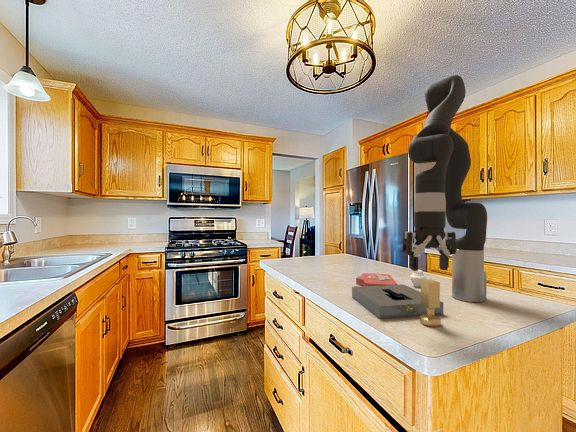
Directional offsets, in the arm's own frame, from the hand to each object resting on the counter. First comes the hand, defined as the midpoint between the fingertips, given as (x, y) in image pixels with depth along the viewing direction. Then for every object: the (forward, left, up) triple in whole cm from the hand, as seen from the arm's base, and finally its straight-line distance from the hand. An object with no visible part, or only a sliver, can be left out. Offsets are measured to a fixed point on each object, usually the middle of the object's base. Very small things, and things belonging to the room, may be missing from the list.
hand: (428, 270), depth 72 cm
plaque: (-4, -39, -15) cm, 42 cm away
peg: (0, 0, -14) cm, 14 cm away
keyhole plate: (+2, -15, -14) cm, 21 cm away
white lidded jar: (-20, -34, -15) cm, 42 cm away
